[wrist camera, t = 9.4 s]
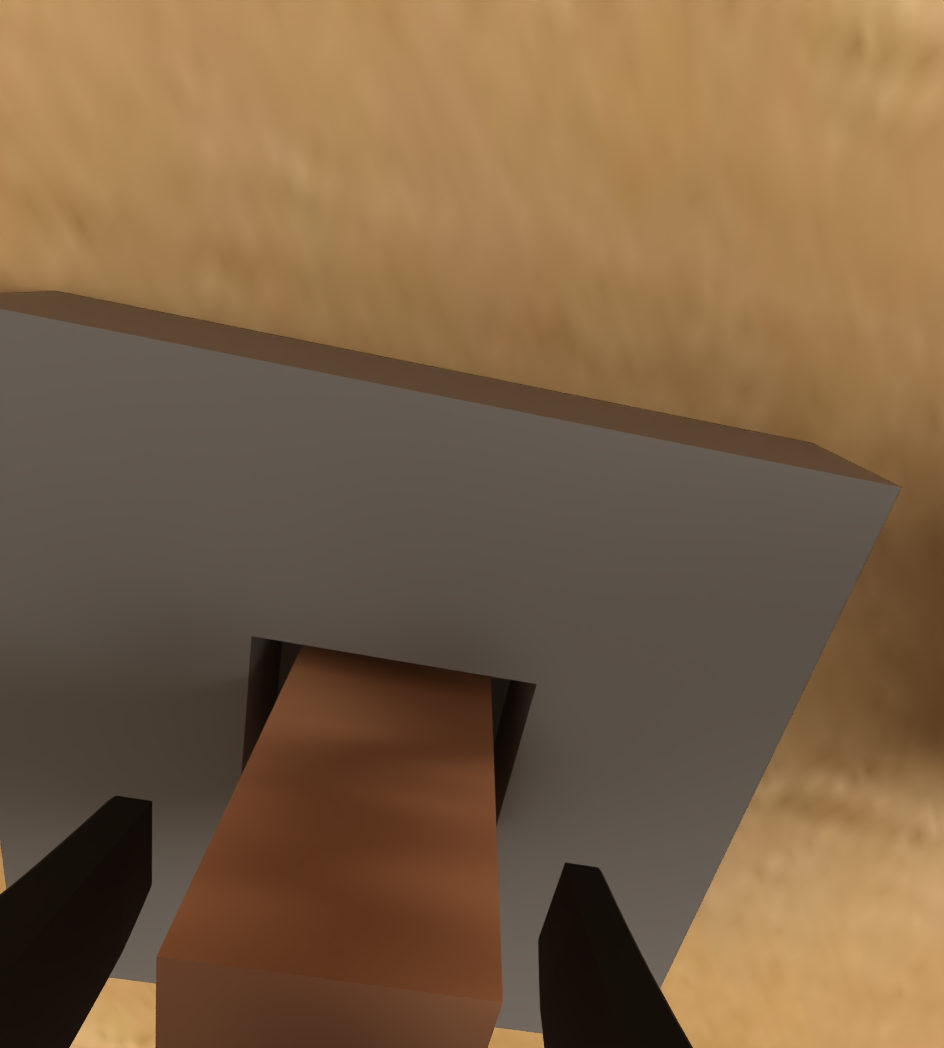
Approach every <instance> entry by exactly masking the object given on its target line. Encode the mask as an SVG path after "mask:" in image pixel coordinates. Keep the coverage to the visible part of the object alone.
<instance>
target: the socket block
mask: <svg viewBox="0 0 944 1048" xmlns="http://www.w3.org/2000/svg"><path fill="white" fill-rule="evenodd" d="M901 488H902V487H900V486H898V485H896V484H894V483H892V482H890V481H888V480H886V479H884V478H882V477H880V476H878V475H876V474H874V473H872V472H870V471H868V470H866V469H864V468H862V467H860V466H858V465H856V464H854V463H852V462H850V461H848V460H846V459H844V458H842V457H840V456H838V455H836V454H834V453H832V452H830V451H828V450H826V449H824V448H822V447H820V446H818V445H816V444H814V443H809V442H804V441H799V440H794V439H789V438H784V437H779V436H774V435H769V434H764V433H759V432H754V431H749V430H744V429H740V428H735V427H730V426H725V425H720V424H715V423H710V422H705V421H700V420H695V419H690V418H685V417H680V416H675V415H670V414H665V413H660V412H655V411H650V410H645V409H640V408H635V407H630V406H625V405H620V404H615V403H610V402H605V401H600V400H595V399H590V398H585V397H580V396H575V395H570V394H566V393H561V392H556V391H551V390H546V389H541V388H536V387H531V386H526V385H521V384H516V383H511V382H506V381H501V380H496V379H491V378H486V377H481V376H476V375H471V374H466V373H461V372H456V371H451V370H446V369H441V368H436V367H431V366H426V365H421V364H416V363H411V362H406V361H401V360H396V359H392V358H387V357H382V356H377V355H372V354H367V353H362V352H357V351H352V350H347V349H342V348H337V347H332V346H327V345H322V344H317V343H312V342H307V341H302V340H297V339H292V338H287V337H282V336H277V335H272V334H267V333H262V332H257V331H252V330H247V329H242V328H237V327H232V326H227V325H222V324H218V323H213V322H208V321H203V320H198V319H193V318H188V317H183V316H178V315H173V314H168V313H163V312H158V311H153V310H148V309H143V308H138V307H133V306H128V305H123V304H118V303H113V302H108V301H103V300H98V299H93V298H88V297H83V296H78V295H73V294H68V293H63V292H58V291H46V292H19V293H0V841H1V849H2V857H3V865H4V874H5V882H6V889H8V888H9V887H10V886H11V885H12V884H14V883H15V882H16V881H17V880H18V879H20V878H21V877H22V876H23V875H24V874H26V873H27V872H28V871H29V870H30V869H31V868H33V867H34V866H35V865H36V864H37V863H38V862H40V861H41V860H42V859H43V858H44V857H45V856H46V855H48V854H49V853H50V852H51V851H52V850H53V849H54V848H56V847H57V846H58V845H59V844H60V843H61V842H62V841H64V840H65V839H66V838H67V837H68V836H69V835H70V834H71V833H73V832H74V831H75V830H76V829H77V828H78V827H79V826H80V825H82V824H83V823H84V822H85V821H86V820H87V819H88V818H89V817H90V816H92V815H93V814H94V813H95V812H96V811H97V810H98V809H99V808H100V807H101V806H103V805H104V804H105V803H106V802H107V801H108V800H109V799H111V798H113V797H114V796H122V797H129V798H136V799H143V800H149V801H152V886H151V889H150V891H149V893H148V896H147V898H146V900H145V903H144V905H143V907H142V910H141V912H140V914H139V917H138V919H137V921H136V923H135V926H134V928H133V930H132V932H131V935H130V937H129V939H128V941H127V943H126V946H125V948H124V950H123V952H122V954H121V956H120V958H119V960H118V961H117V963H116V965H115V967H114V969H113V971H112V972H111V974H110V976H109V977H110V978H118V979H126V980H133V981H141V982H149V983H156V956H157V954H158V952H159V950H160V948H161V946H162V944H163V941H164V939H165V937H166V935H167V933H168V931H169V929H170V926H171V924H172V922H173V920H174V918H175V916H176V914H177V912H178V909H179V907H180V905H181V903H182V901H183V899H184V897H185V895H186V892H187V890H188V888H189V886H190V884H191V882H192V880H193V877H194V875H195V873H196V871H197V869H198V867H199V865H200V863H201V860H202V858H203V856H204V854H205V852H206V850H207V848H208V845H209V843H210V841H211V839H212V837H213V835H214V833H215V831H216V828H217V826H218V824H219V822H220V820H221V818H222V816H223V813H224V811H225V809H226V807H227V805H228V803H229V801H230V799H231V796H232V794H233V792H234V790H235V788H236V786H237V784H238V782H239V779H240V777H241V775H242V773H243V771H244V769H245V767H246V764H247V762H248V760H249V758H250V756H251V754H252V752H253V750H254V747H255V745H256V743H257V741H258V739H259V737H260V735H261V732H262V730H263V728H264V726H265V724H266V722H267V720H268V718H269V715H270V713H271V711H272V709H273V707H274V705H275V703H276V701H277V698H278V696H279V694H280V692H281V690H282V688H283V686H284V683H285V681H286V679H287V677H288V675H289V673H290V671H291V669H292V666H293V664H294V662H295V660H296V658H297V656H298V654H299V651H300V649H301V647H302V645H307V646H313V647H319V648H325V649H331V650H337V651H343V652H349V653H355V654H361V655H367V656H373V657H379V658H385V659H390V660H396V661H402V662H408V663H414V664H420V665H426V666H432V667H438V668H444V669H450V670H456V671H462V672H468V673H474V674H480V675H486V676H491V696H492V723H493V750H494V776H495V803H496V830H497V857H498V884H499V911H500V938H501V964H502V991H503V1004H502V1007H501V1010H500V1012H499V1015H498V1018H497V1021H496V1024H495V1027H497V1028H504V1029H512V1030H520V1031H527V1032H535V1033H543V1031H542V1022H541V1014H540V996H539V960H538V938H539V935H540V933H541V930H542V927H543V924H544V921H545V918H546V915H547V913H548V910H549V907H550V904H551V901H552V898H553V895H554V893H555V890H556V887H557V884H558V881H559V878H560V876H561V873H562V870H563V867H564V864H565V862H566V863H573V864H579V865H586V866H593V867H599V869H600V870H601V872H602V873H603V875H604V877H605V879H606V882H607V884H608V886H609V888H610V890H611V892H612V894H613V897H614V899H615V901H616V903H617V905H618V907H619V909H620V911H621V913H622V915H623V917H624V919H625V922H626V924H627V926H628V928H629V930H630V932H631V934H632V936H633V938H634V940H635V942H636V944H637V946H638V948H639V950H640V952H641V954H642V956H643V958H644V959H645V961H646V963H647V965H648V967H649V969H650V971H651V973H652V975H653V977H654V979H655V980H656V982H657V984H658V986H659V988H661V985H662V983H663V981H664V979H665V977H666V975H667V973H668V971H669V969H670V967H671V965H672V963H673V961H674V959H675V956H676V954H677V952H678V950H679V948H680V946H681V944H682V942H683V940H684V938H685V936H686V934H687V932H688V929H689V927H690V925H691V923H692V921H693V919H694V917H695V915H696V913H697V911H698V909H699V907H700V905H701V902H702V900H703V898H704V896H705V894H706V892H707V890H708V888H709V886H710V884H711V882H712V880H713V878H714V876H715V873H716V871H717V869H718V867H719V865H720V863H721V861H722V859H723V857H724V855H725V853H726V851H727V849H728V846H729V844H730V842H731V840H732V838H733V836H734V834H735V832H736V830H737V828H738V826H739V824H740V822H741V819H742V817H743V815H744V813H745V811H746V809H747V807H748V805H749V803H750V801H751V799H752V797H753V795H754V793H755V790H756V788H757V786H758V784H759V782H760V780H761V778H762V776H763V774H764V772H765V770H766V768H767V766H768V763H769V761H770V759H771V757H772V755H773V753H774V751H775V749H776V747H777V745H778V743H779V741H780V739H781V737H782V734H783V732H784V730H785V728H786V726H787V724H788V722H789V720H790V718H791V716H792V714H793V712H794V710H795V707H796V705H797V703H798V701H799V699H800V697H801V695H802V693H803V691H804V689H805V687H806V685H807V683H808V680H809V678H810V676H811V674H812V672H813V670H814V668H815V666H816V664H817V662H818V660H819V658H820V656H821V654H822V651H823V649H824V647H825V645H826V643H827V641H828V639H829V637H830V635H831V633H832V631H833V629H834V627H835V624H836V622H837V620H838V618H839V616H840V614H841V612H842V610H843V608H844V606H845V604H846V602H847V600H848V597H849V595H850V593H851V591H852V589H853V587H854V585H855V583H856V581H857V579H858V577H859V575H860V573H861V571H862V568H863V566H864V564H865V562H866V560H867V558H868V556H869V554H870V552H871V550H872V548H873V546H874V544H875V541H876V539H877V537H878V535H879V533H880V531H881V529H882V527H883V525H884V523H885V521H886V519H887V517H888V514H889V512H890V510H891V508H892V506H893V504H894V502H895V500H896V498H897V496H898V494H899V492H900V490H901Z"/></svg>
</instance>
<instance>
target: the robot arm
mask: <svg viewBox="0 0 944 1048" xmlns="http://www.w3.org/2000/svg"><path fill="white" fill-rule="evenodd" d="M151 886H152V801H149V800H143V799H136V798H129V797H122V796H114V797H113V798H111V799H109V800H108V801H107V802H106V803H105V804H104V805H103V806H101V807H100V808H99V809H98V810H97V811H96V812H95V813H94V814H93V815H92V816H90V817H89V818H88V819H87V820H86V821H85V822H84V823H83V824H82V825H80V826H79V827H78V828H77V829H76V830H75V831H74V832H73V833H71V834H70V835H69V836H68V837H67V838H66V839H65V840H64V841H62V842H61V843H60V844H59V845H58V846H57V847H56V848H54V849H53V850H52V851H51V852H50V853H49V854H48V855H46V856H45V857H44V858H43V859H42V860H41V861H40V862H38V863H37V864H36V865H35V866H34V867H33V868H31V869H30V870H29V871H28V872H27V873H26V874H24V875H23V876H22V877H21V878H20V879H18V880H17V881H16V882H15V883H14V884H12V885H11V886H10V887H9V888H8V889H6V890H5V891H4V892H3V893H2V894H0V1048H69V1047H70V1046H71V1044H72V1042H73V1040H74V1039H75V1037H76V1035H77V1033H78V1031H79V1030H80V1028H81V1026H82V1024H83V1023H84V1021H85V1019H86V1017H87V1015H88V1014H89V1012H90V1010H91V1008H92V1007H93V1005H94V1003H95V1001H96V999H97V998H98V996H99V994H100V992H101V990H102V989H103V987H104V985H105V983H106V981H107V980H108V978H109V976H110V974H111V972H112V971H113V969H114V967H115V965H116V963H117V961H118V960H119V958H120V956H121V954H122V952H123V950H124V948H125V946H126V943H127V941H128V939H129V937H130V935H131V932H132V930H133V928H134V926H135V923H136V921H137V919H138V917H139V914H140V912H141V910H142V907H143V905H144V903H145V900H146V898H147V896H148V893H149V891H150V889H151ZM538 960H539V996H540V1014H541V1022H542V1031H543V1039H544V1048H693V1047H692V1045H691V1044H690V1042H689V1040H688V1038H687V1037H686V1035H685V1033H684V1031H683V1030H682V1028H681V1026H680V1024H679V1023H678V1021H677V1019H676V1017H675V1016H674V1014H673V1012H672V1010H671V1008H670V1006H669V1004H668V1003H667V1001H666V999H665V997H664V995H663V993H662V991H661V990H660V988H659V986H658V984H657V982H656V980H655V979H654V977H653V975H652V973H651V971H650V969H649V967H648V965H647V963H646V961H645V959H644V958H643V956H642V954H641V952H640V950H639V948H638V946H637V944H636V942H635V940H634V938H633V936H632V934H631V932H630V930H629V928H628V926H627V924H626V922H625V919H624V917H623V915H622V913H621V911H620V909H619V907H618V905H617V903H616V901H615V899H614V897H613V894H612V892H611V890H610V888H609V886H608V884H607V882H606V879H605V877H604V875H603V873H602V872H601V870H600V869H599V867H593V866H586V865H579V864H573V863H566V862H565V864H564V867H563V870H562V873H561V876H560V878H559V881H558V884H557V887H556V890H555V893H554V895H553V898H552V901H551V904H550V907H549V910H548V913H547V915H546V918H545V921H544V924H543V927H542V930H541V933H540V935H539V938H538Z"/></svg>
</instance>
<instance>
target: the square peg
mask: <svg viewBox="0 0 944 1048" xmlns="http://www.w3.org/2000/svg"><path fill="white" fill-rule="evenodd" d="M502 1004H503V991H502V964H501V938H500V911H499V884H498V857H497V830H496V803H495V776H494V750H493V723H492V696H491V676H486V675H480V674H474V673H468V672H462V671H456V670H450V669H444V668H438V667H432V666H426V665H420V664H414V663H408V662H402V661H396V660H390V659H385V658H379V657H373V656H367V655H361V654H355V653H349V652H343V651H337V650H331V649H325V648H319V647H313V646H307V645H302V647H301V649H300V651H299V654H298V656H297V658H296V660H295V662H294V664H293V666H292V669H291V671H290V673H289V675H288V677H287V679H286V681H285V683H284V686H283V688H282V690H281V692H280V694H279V696H278V698H277V701H276V703H275V705H274V707H273V709H272V711H271V713H270V715H269V718H268V720H267V722H266V724H265V726H264V728H263V730H262V732H261V735H260V737H259V739H258V741H257V743H256V745H255V747H254V750H253V752H252V754H251V756H250V758H249V760H248V762H247V764H246V767H245V769H244V771H243V773H242V775H241V777H240V779H239V782H238V784H237V786H236V788H235V790H234V792H233V794H232V796H231V799H230V801H229V803H228V805H227V807H226V809H225V811H224V813H223V816H222V818H221V820H220V822H219V824H218V826H217V828H216V831H215V833H214V835H213V837H212V839H211V841H210V843H209V845H208V848H207V850H206V852H205V854H204V856H203V858H202V860H201V863H200V865H199V867H198V869H197V871H196V873H195V875H194V877H193V880H192V882H191V884H190V886H189V888H188V890H187V892H186V895H185V897H184V899H183V901H182V903H181V905H180V907H179V909H178V912H177V914H176V916H175V918H174V920H173V922H172V924H171V926H170V929H169V931H168V933H167V935H166V937H165V939H164V941H163V944H162V946H161V948H160V950H159V952H158V954H157V956H156V1048H488V1045H489V1042H490V1039H491V1036H492V1033H493V1030H494V1027H495V1024H496V1021H497V1018H498V1015H499V1012H500V1010H501V1007H502Z"/></svg>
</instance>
